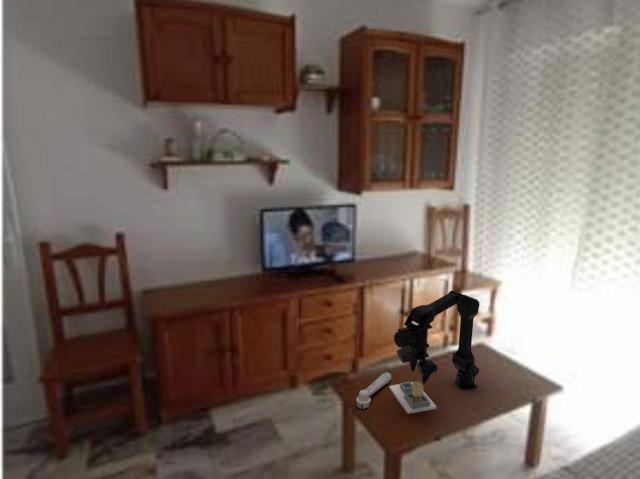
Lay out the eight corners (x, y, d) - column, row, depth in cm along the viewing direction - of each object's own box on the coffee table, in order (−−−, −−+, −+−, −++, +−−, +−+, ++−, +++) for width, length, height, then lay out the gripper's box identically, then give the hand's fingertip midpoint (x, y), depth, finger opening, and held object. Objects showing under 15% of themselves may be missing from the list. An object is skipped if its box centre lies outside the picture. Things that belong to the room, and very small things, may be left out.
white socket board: (415, 383, 188) (415, 377, 187) (436, 408, 171) (436, 401, 170) (389, 388, 185) (389, 381, 184) (407, 413, 168) (407, 406, 167)
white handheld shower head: (393, 373, 189) (366, 394, 169) (392, 387, 190) (365, 410, 170) (382, 369, 192) (354, 390, 172) (381, 384, 193) (353, 406, 172)
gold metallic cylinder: (419, 398, 176) (420, 380, 174) (424, 404, 172) (425, 386, 170) (409, 399, 175) (410, 381, 173) (414, 406, 171) (415, 387, 169)
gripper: (390, 332, 174) (389, 368, 178) (410, 354, 156) (409, 394, 160) (416, 329, 177) (414, 364, 180) (439, 350, 159) (437, 389, 163)
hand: (418, 377), depth 171 cm, fingers open, 9 cm apart
